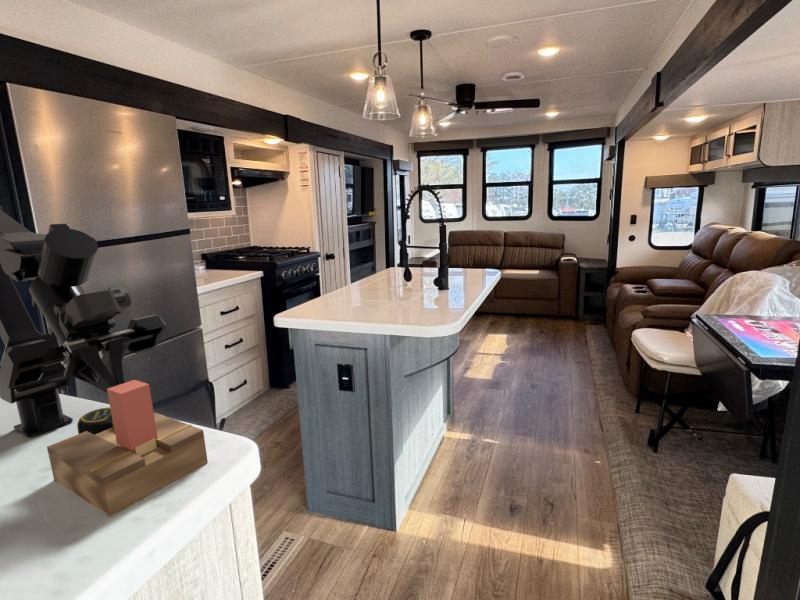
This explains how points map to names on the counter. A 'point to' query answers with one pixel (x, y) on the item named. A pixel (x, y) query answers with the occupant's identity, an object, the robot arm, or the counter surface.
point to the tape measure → (95, 421)
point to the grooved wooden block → (125, 464)
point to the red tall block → (133, 417)
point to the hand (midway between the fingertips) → (122, 396)
